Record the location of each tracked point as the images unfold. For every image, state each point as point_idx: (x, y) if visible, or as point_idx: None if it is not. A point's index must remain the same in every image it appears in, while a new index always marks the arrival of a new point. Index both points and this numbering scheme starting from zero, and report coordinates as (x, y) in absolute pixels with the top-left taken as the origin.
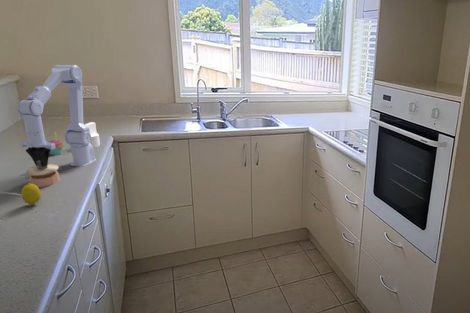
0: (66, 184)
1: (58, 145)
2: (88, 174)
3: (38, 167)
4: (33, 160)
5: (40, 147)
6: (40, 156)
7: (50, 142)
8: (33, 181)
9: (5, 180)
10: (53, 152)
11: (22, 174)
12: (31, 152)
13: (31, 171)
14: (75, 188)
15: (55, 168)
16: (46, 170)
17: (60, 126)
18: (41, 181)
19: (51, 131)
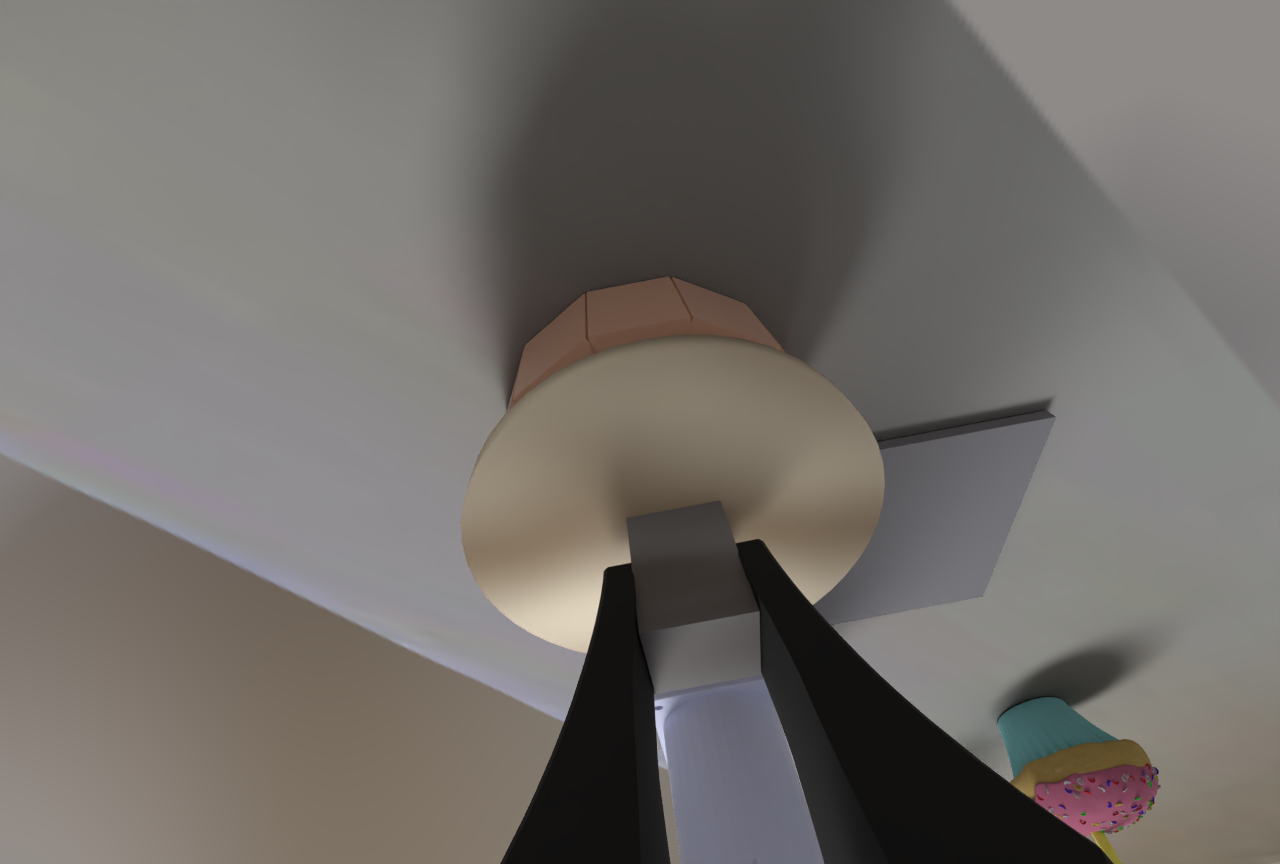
0: (410, 478)
1: (1035, 797)
2: (477, 649)
3: (705, 527)
4: (809, 615)
5: None
6: (578, 781)
7: (1118, 811)
8: (646, 312)
9: (1153, 274)
10: (1039, 724)
11: (1040, 436)
12: (881, 857)
13: (730, 411)
14: (208, 458)
15: (509, 604)
16: (546, 525)
17: (1221, 835)
18: (545, 359)
19: (1241, 807)
